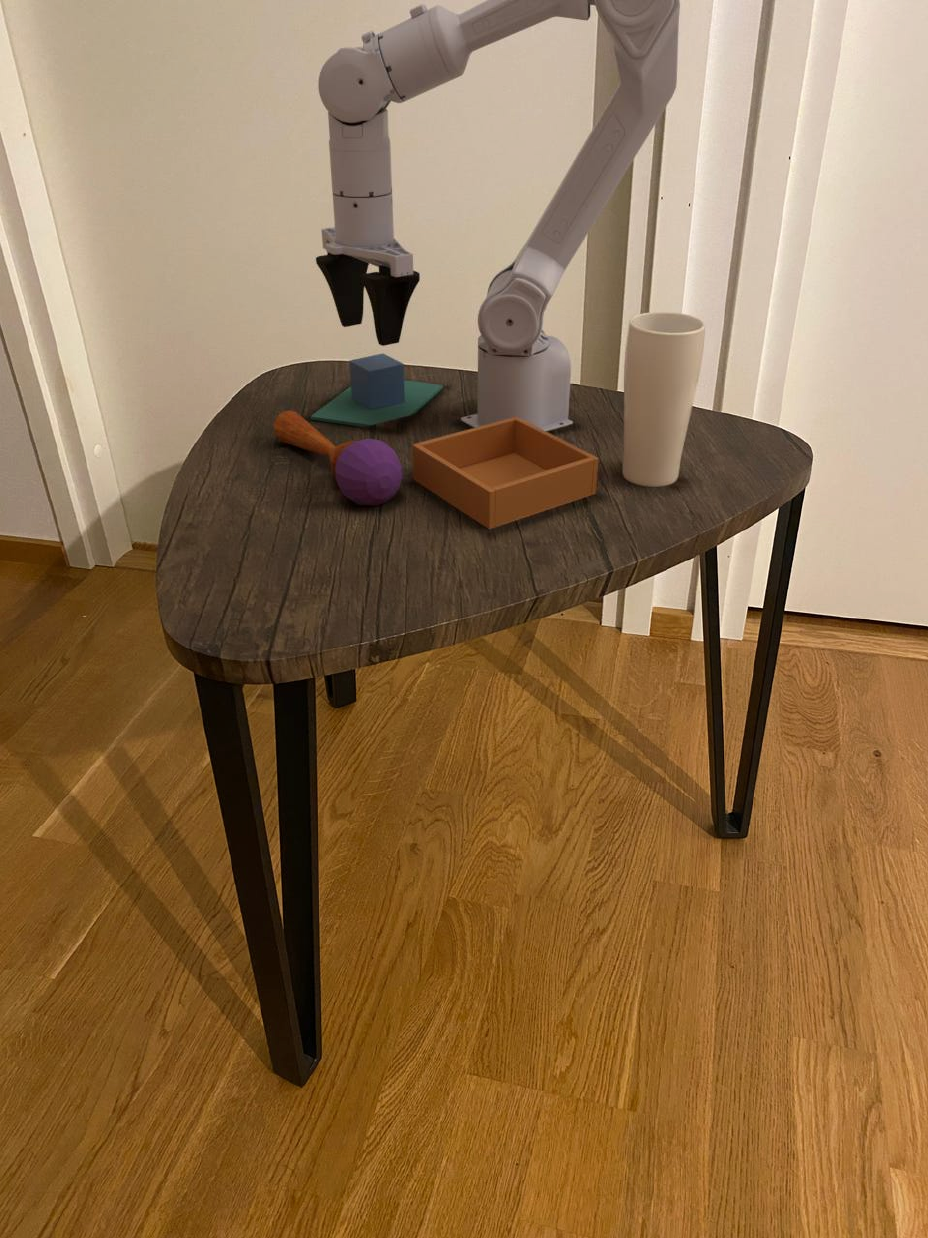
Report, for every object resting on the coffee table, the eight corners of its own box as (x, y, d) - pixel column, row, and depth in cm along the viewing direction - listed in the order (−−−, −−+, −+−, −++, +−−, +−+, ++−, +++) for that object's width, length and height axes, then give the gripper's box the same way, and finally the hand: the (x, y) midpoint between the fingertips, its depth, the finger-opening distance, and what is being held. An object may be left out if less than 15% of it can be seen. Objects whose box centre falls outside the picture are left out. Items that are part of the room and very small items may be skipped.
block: (384, 390, 113) (383, 352, 110) (405, 402, 110) (403, 363, 107) (351, 398, 111) (348, 360, 108) (371, 410, 108) (369, 371, 105)
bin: (515, 453, 99) (516, 416, 97) (595, 497, 90) (598, 457, 88) (413, 483, 93) (412, 444, 91) (489, 533, 85) (489, 491, 82)
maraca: (316, 397, 101) (417, 447, 86) (313, 453, 103) (411, 511, 89) (262, 397, 98) (357, 450, 83) (260, 456, 100) (353, 517, 85)
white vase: (700, 484, 93) (723, 326, 85) (644, 500, 90) (663, 338, 82) (653, 459, 98) (671, 307, 90) (599, 473, 95) (612, 318, 87)
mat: (365, 378, 117) (365, 374, 117) (443, 388, 115) (443, 384, 114) (310, 419, 106) (310, 416, 106) (395, 431, 104) (395, 428, 103)
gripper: (290, 185, 97) (302, 323, 104) (364, 209, 87) (372, 359, 94) (352, 178, 100) (360, 312, 108) (430, 200, 90) (433, 346, 98)
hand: (369, 333), depth 101 cm, fingers open, 7 cm apart
